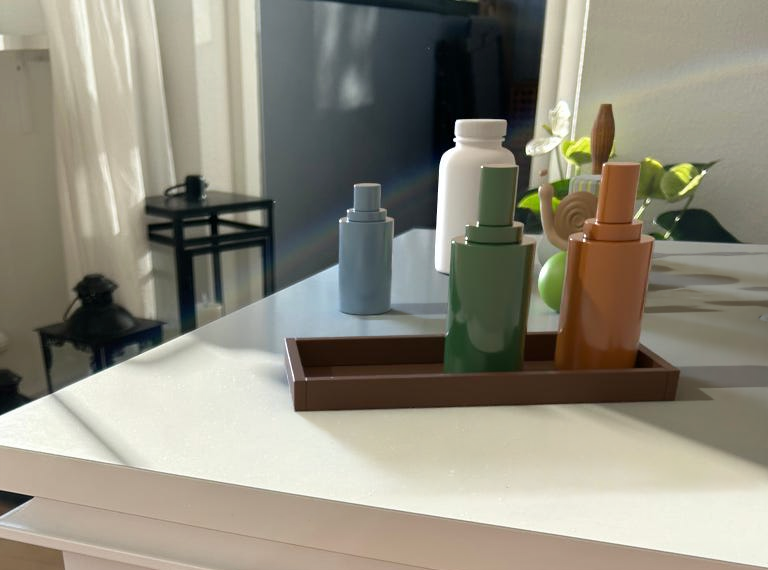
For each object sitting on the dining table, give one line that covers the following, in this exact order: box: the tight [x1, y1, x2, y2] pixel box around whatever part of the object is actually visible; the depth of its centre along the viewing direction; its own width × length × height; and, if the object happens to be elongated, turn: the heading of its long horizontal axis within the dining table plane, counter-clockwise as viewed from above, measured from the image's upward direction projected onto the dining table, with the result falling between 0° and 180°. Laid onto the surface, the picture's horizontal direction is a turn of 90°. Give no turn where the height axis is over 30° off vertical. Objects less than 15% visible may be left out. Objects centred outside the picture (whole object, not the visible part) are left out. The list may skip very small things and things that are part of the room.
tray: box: [283, 330, 681, 413], centre depth 73 cm, size 26×12×3 cm, turn 93°
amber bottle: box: [553, 161, 656, 371], centre depth 70 cm, size 6×6×14 cm
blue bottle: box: [337, 182, 395, 316], centre depth 95 cm, size 5×5×11 cm
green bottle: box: [443, 164, 537, 374], centre depth 69 cm, size 6×6×14 cm
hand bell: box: [589, 103, 616, 175], centre depth 117 cm, size 8×8×16 cm
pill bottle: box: [434, 118, 516, 275], centre depth 110 cm, size 8×8×15 cm
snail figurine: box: [537, 168, 598, 313], centre depth 93 cm, size 5×6×12 cm
